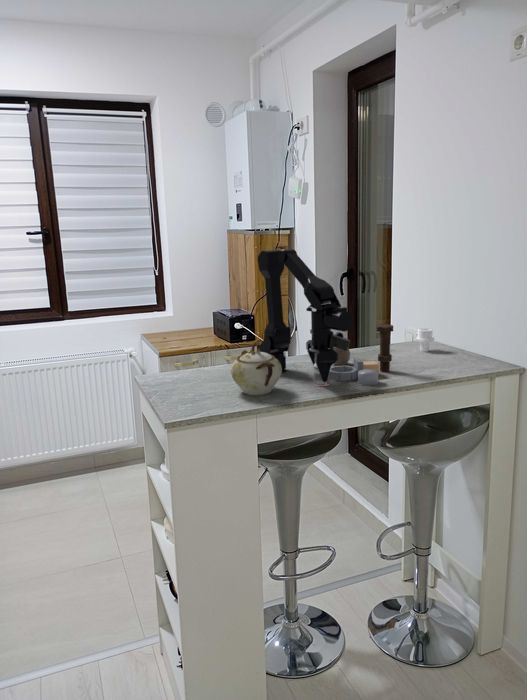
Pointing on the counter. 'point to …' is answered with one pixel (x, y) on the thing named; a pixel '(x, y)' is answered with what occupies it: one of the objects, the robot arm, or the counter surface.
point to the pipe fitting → (424, 338)
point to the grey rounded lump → (367, 377)
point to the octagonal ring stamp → (351, 370)
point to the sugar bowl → (256, 371)
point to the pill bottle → (318, 378)
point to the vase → (342, 356)
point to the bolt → (384, 346)
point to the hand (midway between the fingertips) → (321, 377)
